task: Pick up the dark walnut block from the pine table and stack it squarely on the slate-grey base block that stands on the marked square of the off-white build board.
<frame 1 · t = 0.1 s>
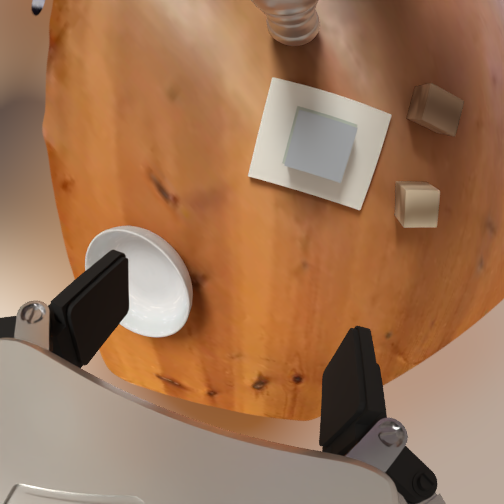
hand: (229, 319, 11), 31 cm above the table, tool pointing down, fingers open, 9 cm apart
serving bowl: (150, 268, 51), on the table
walnut block: (426, 109, 31), on the table
birch block: (410, 198, 37), on the table
plastic bottle: (294, 29, 30), on the table
base block: (319, 143, 35), point 1 cm above the table, touching build board
build board: (319, 142, 36), on the table
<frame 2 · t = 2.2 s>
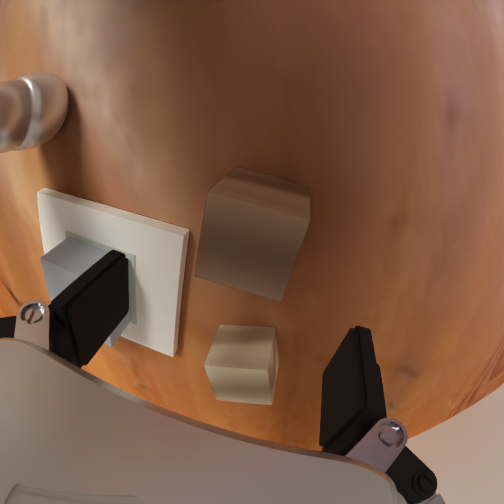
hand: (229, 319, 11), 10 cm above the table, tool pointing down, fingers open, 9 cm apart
walnut block: (264, 210, 20), on the table
birch block: (250, 344, 26), on the table
plastic bottle: (55, 106, 19), on the table
base block: (99, 279, 24), point 1 cm above the table, touching build board
build board: (106, 272, 25), on the table
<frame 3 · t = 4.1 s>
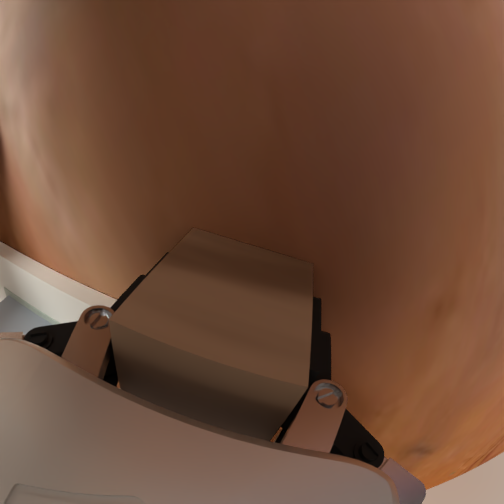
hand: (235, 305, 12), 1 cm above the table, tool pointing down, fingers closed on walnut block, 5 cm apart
walnut block: (239, 294, 13), on the table, touching gripper
base block: (47, 347, 17), point 1 cm above the table, touching build board
build board: (56, 336, 18), on the table
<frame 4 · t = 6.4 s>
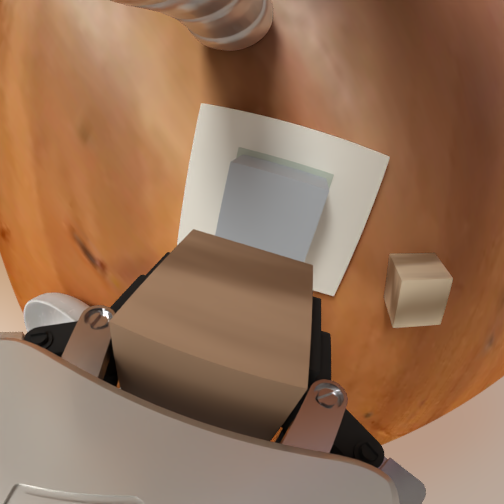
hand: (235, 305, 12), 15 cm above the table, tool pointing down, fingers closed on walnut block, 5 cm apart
serving bowl: (93, 331, 40), on the table
walnut block: (239, 296, 13), point 15 cm above the table, touching gripper
birch block: (409, 275, 26), on the table
plastic bottle: (238, 24, 19), on the table
base block: (273, 204, 24), point 1 cm above the table, touching build board
build board: (275, 200, 26), on the table
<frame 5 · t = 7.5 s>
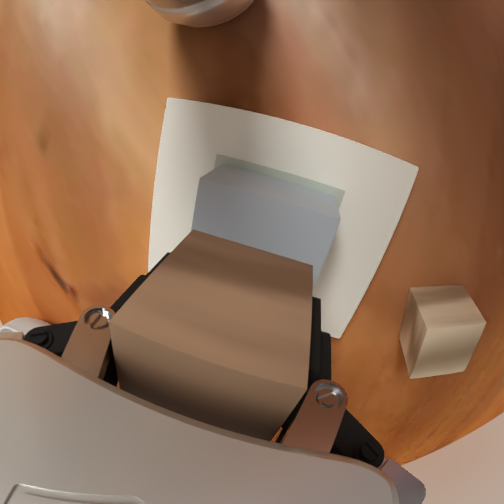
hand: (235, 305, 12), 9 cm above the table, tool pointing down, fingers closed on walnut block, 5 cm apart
serving bowl: (73, 356, 35), on the table
walnut block: (239, 296, 13), point 8 cm above the table, touching gripper
birch block: (430, 310, 20), on the table
base block: (264, 230, 19), point 1 cm above the table, touching build board
build board: (267, 223, 20), on the table
when the fingers open (7 cm above the table, at t = 8.6 s): walnut block drops 1 cm, resting on base block.
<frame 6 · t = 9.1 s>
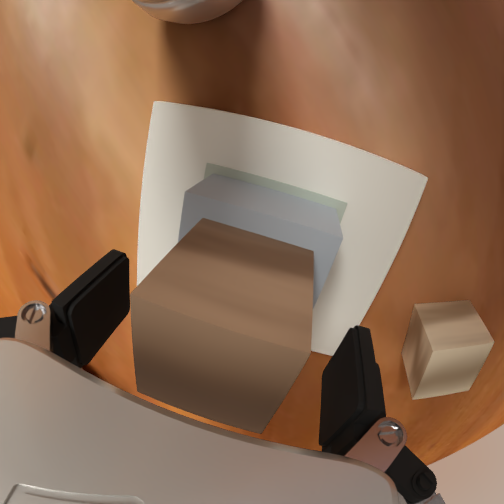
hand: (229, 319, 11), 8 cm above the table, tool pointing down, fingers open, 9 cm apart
walnut block: (244, 281, 14), point 5 cm above the table, touching base block
birch block: (435, 327, 19), on the table
base block: (259, 245, 17), point 1 cm above the table, touching build board, walnut block
build board: (262, 237, 18), on the table
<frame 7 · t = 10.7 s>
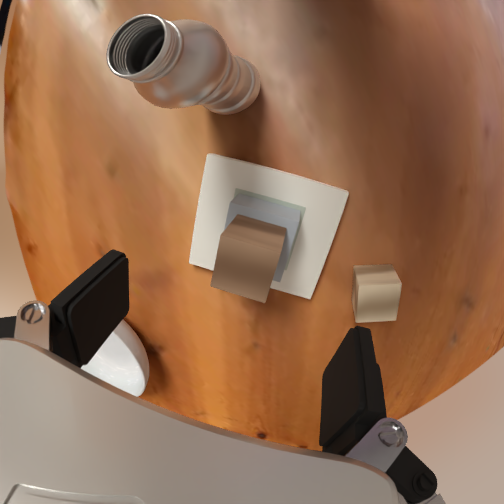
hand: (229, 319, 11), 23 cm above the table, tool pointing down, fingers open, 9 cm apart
serving bowl: (112, 333, 48), on the table
walnut block: (256, 243, 30), point 5 cm above the table, touching base block
birch block: (371, 282, 35), on the table
plastic bottle: (234, 88, 29), on the table
base block: (262, 230, 33), point 1 cm above the table, touching build board, walnut block
build board: (263, 226, 34), on the table
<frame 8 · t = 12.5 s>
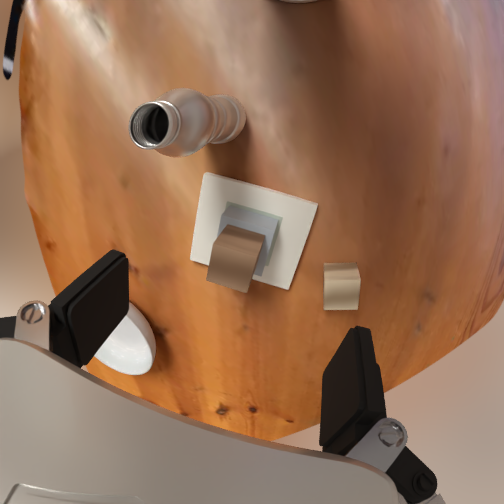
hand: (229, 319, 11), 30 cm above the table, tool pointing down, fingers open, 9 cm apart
serving bowl: (123, 318, 58), on the table
walnut block: (242, 246, 38), point 5 cm above the table, touching base block
birch block: (339, 277, 43), on the table
plastic bottle: (225, 118, 36), on the table
base block: (248, 234, 42), point 1 cm above the table, touching build board, walnut block
build board: (249, 231, 43), on the table
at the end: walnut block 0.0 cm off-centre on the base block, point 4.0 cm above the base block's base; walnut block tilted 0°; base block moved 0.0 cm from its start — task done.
